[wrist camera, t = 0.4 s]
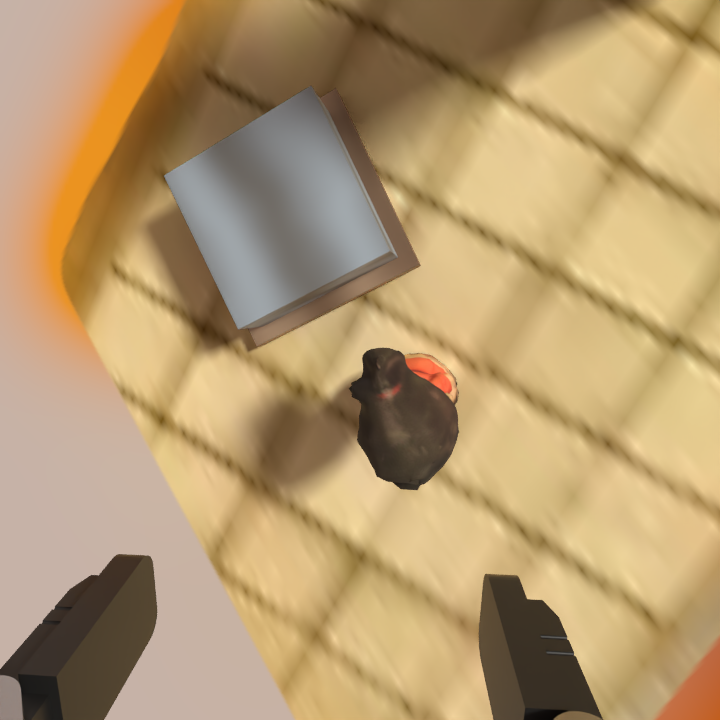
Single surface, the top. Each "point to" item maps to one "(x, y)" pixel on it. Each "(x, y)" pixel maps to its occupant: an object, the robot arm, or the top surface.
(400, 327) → the top surface
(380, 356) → the figurine
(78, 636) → the robot arm
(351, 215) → the pedestal
